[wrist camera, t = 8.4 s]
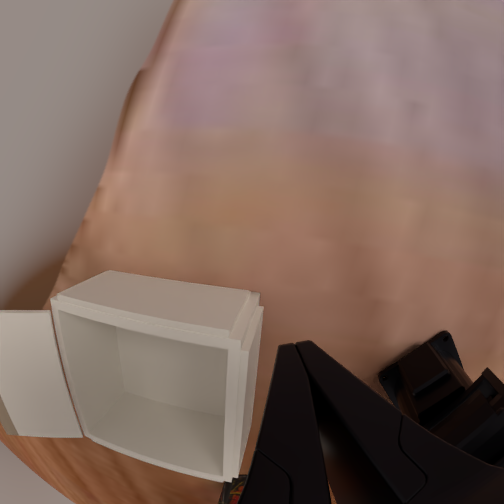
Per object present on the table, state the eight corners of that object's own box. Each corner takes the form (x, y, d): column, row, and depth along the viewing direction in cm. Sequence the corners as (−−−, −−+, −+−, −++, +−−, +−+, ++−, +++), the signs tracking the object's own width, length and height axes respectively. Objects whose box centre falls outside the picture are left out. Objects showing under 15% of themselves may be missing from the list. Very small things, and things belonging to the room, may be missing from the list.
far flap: (-39, 311, 12) (-37, 308, 12) (7, 434, 14) (7, 430, 14) (49, 312, 15) (50, 309, 15) (82, 437, 17) (82, 433, 18)
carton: (266, 287, 21) (250, 334, 14) (252, 425, 23) (236, 486, 16) (109, 265, 22) (49, 292, 15) (123, 394, 25) (85, 438, 18)
